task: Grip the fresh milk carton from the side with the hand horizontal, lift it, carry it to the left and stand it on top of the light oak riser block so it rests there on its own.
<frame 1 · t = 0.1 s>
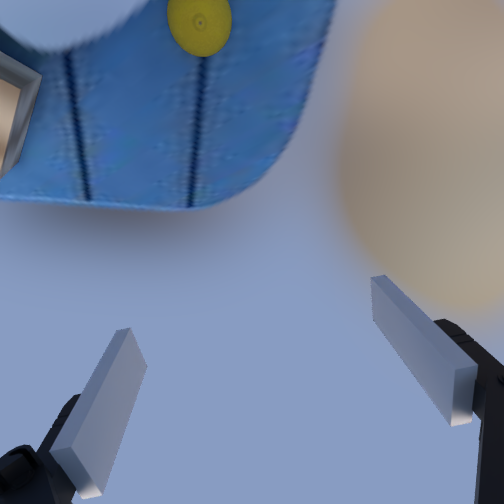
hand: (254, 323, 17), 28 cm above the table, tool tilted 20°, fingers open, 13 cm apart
lemon: (200, 15, 30), on the table
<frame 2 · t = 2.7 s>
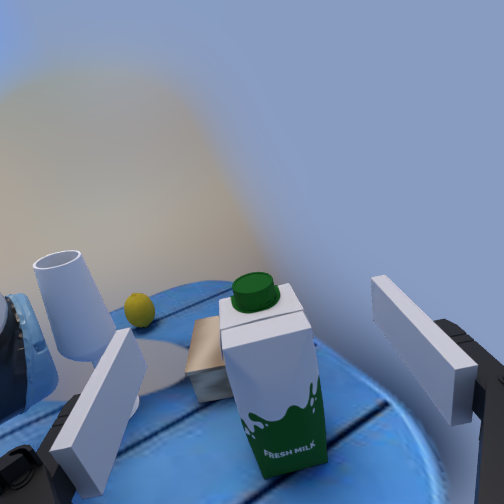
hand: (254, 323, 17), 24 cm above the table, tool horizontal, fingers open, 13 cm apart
champagne flute: (115, 409, 44), on the table
fresh milk carton: (288, 441, 35), on the table
oak riser: (237, 366, 47), on the table
lemon: (146, 327, 63), on the table
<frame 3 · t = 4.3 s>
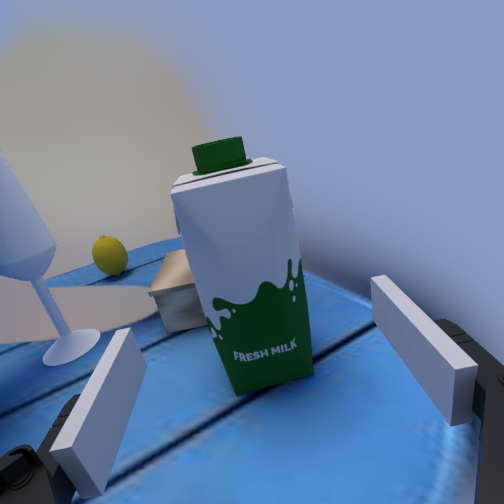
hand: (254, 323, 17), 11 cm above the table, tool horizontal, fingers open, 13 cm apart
champagne flute: (73, 347, 38), on the table
fresh milk carton: (268, 359, 30), on the table
oak riser: (214, 299, 42), on the table
lemon: (119, 276, 57), on the table
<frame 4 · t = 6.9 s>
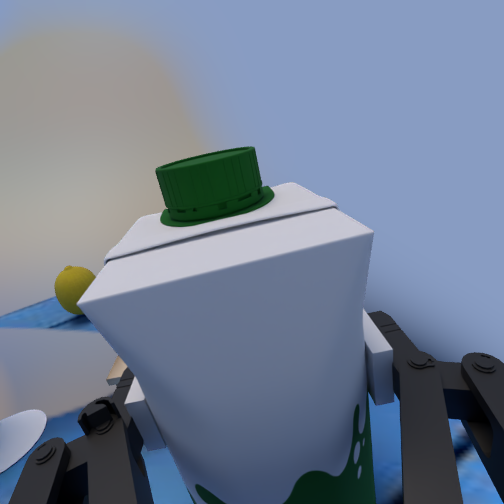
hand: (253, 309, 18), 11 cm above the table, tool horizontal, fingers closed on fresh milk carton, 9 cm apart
champagne flute: (4, 444, 27), on the table, touching arm
oak riser: (209, 367, 30), on the table
lemon: (91, 315, 45), on the table
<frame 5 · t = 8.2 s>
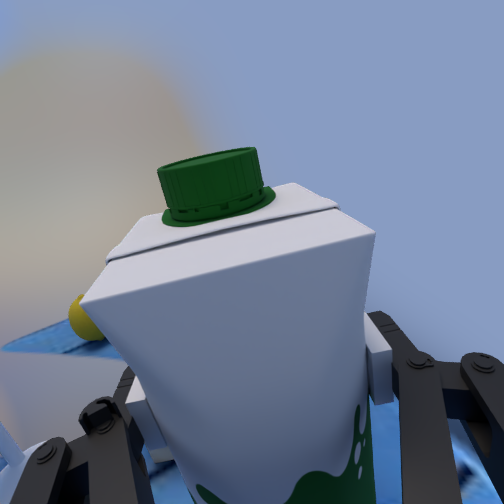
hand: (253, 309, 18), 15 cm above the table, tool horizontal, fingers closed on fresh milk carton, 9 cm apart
champagne flute: (28, 475, 28), on the table
lemon: (102, 340, 47), on the table
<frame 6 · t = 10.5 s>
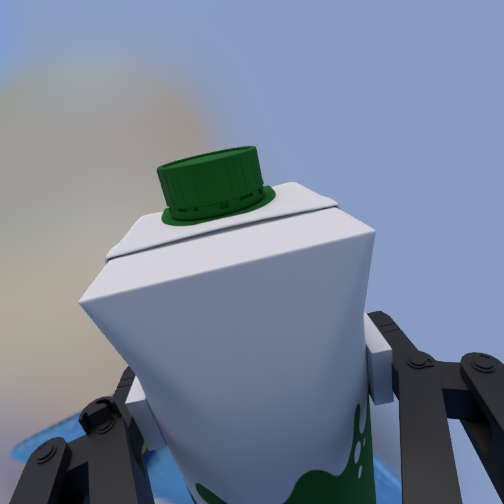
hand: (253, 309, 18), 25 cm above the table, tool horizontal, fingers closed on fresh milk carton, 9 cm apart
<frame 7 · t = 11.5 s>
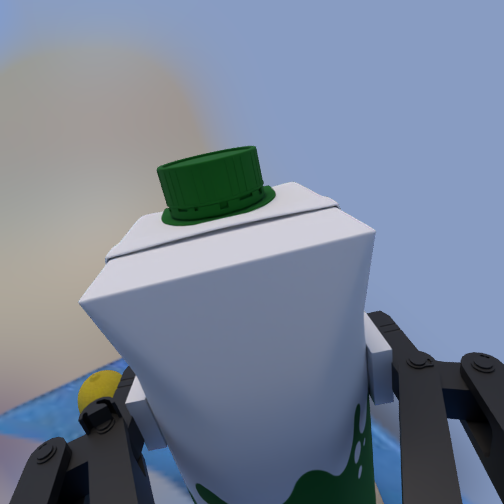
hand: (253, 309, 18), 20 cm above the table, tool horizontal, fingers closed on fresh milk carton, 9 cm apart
lemon: (120, 426, 36), on the table
when the fingers open (18 cm above the table, at t = 12.5 s): fresh milk carton stays where it is, resting on oak riser.
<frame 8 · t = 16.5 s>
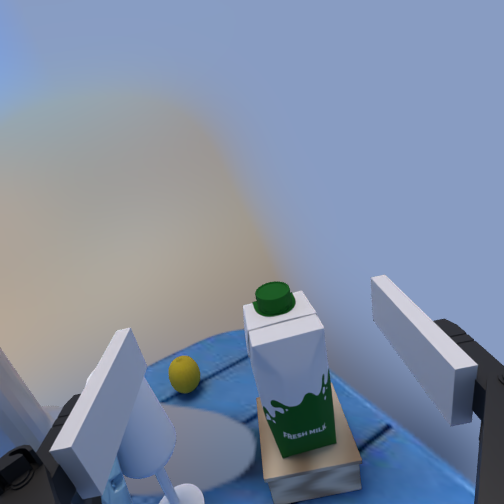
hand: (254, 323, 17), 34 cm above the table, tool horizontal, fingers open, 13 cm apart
fresh milk carton: (301, 427, 41), point 6 cm above the table, touching oak riser
oak riser: (307, 453, 43), on the table
lemon: (190, 391, 58), on the table
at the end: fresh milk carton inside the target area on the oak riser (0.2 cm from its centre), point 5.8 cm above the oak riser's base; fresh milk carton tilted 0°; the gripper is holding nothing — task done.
